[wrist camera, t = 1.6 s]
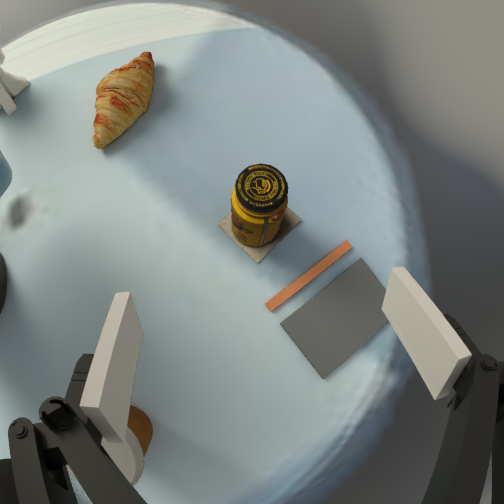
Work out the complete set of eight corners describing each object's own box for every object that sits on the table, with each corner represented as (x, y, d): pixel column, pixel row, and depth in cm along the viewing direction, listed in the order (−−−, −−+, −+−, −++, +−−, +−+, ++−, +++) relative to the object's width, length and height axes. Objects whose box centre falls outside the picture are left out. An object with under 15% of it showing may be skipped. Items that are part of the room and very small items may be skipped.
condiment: (217, 225, 42) (212, 183, 31) (262, 184, 44) (271, 135, 33) (257, 263, 41) (267, 234, 30) (301, 220, 43) (324, 179, 32)
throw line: (264, 303, 40) (265, 303, 40) (345, 240, 43) (346, 240, 42) (270, 311, 40) (270, 311, 39) (351, 247, 43) (352, 247, 42)
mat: (279, 323, 39) (280, 323, 39) (359, 258, 42) (361, 257, 42) (322, 378, 38) (323, 378, 37) (397, 309, 41) (399, 309, 40)
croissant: (122, 165, 48) (131, 145, 41) (68, 146, 43) (68, 123, 36) (164, 73, 53) (178, 48, 46) (118, 55, 48) (127, 28, 41)
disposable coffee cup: (158, 391, 36) (129, 411, 25) (171, 458, 34) (150, 499, 22) (91, 393, 35) (45, 408, 24) (104, 457, 33) (67, 490, 21)
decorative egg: (19, 433, 32) (-43, 454, 18) (84, 481, 32) (34, 525, 17) (8, 483, 29) (-45, 509, 15) (67, 527, 28) (25, 570, 14)
